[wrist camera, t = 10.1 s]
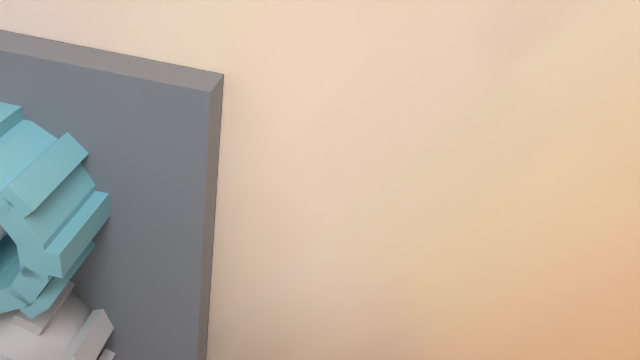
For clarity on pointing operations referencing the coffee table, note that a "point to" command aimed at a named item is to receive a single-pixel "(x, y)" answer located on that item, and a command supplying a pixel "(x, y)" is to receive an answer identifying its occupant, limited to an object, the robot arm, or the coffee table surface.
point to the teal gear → (43, 212)
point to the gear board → (124, 200)
